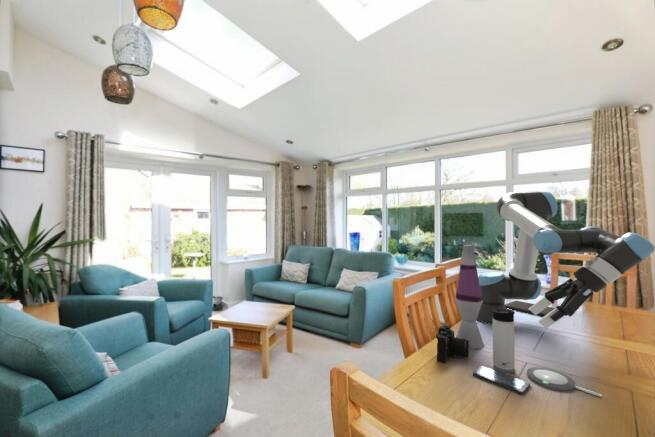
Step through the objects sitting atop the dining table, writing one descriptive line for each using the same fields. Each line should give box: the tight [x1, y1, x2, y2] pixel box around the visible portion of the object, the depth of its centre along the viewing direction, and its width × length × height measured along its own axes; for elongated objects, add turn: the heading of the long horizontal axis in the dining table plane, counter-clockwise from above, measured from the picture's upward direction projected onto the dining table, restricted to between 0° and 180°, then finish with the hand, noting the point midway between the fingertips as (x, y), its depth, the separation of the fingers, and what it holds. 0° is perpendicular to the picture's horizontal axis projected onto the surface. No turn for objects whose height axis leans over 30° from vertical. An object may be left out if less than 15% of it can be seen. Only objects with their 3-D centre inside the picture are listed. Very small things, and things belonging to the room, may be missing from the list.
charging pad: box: [526, 366, 603, 398], centre depth 90 cm, size 18×12×1 cm
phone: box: [472, 365, 531, 396], centre depth 92 cm, size 14×7×1 cm, turn 40°
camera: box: [435, 324, 470, 364], centre depth 108 cm, size 14×11×10 cm
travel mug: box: [492, 309, 516, 374], centre depth 99 cm, size 6×7×20 cm
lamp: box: [454, 244, 485, 350], centre depth 120 cm, size 11×11×40 cm
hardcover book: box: [505, 300, 556, 318], centre depth 161 cm, size 16×23×2 cm
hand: (536, 318), depth 95 cm, fingers open, 13 cm apart
